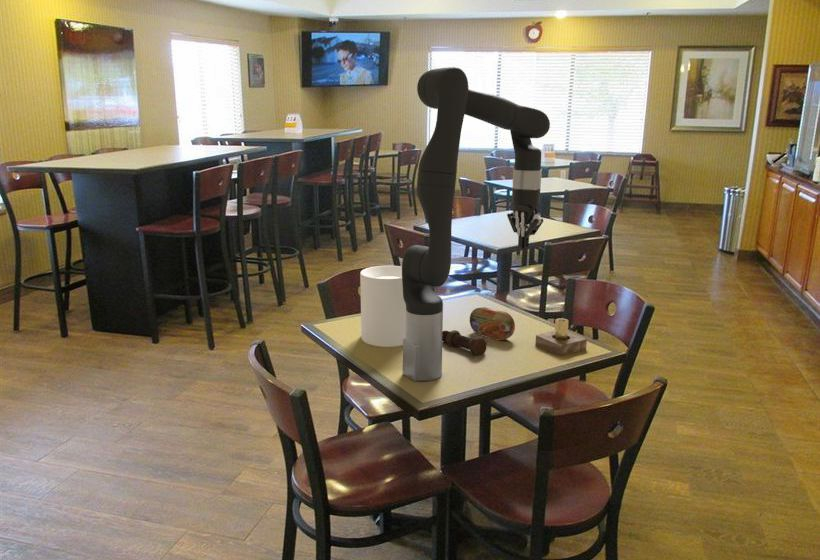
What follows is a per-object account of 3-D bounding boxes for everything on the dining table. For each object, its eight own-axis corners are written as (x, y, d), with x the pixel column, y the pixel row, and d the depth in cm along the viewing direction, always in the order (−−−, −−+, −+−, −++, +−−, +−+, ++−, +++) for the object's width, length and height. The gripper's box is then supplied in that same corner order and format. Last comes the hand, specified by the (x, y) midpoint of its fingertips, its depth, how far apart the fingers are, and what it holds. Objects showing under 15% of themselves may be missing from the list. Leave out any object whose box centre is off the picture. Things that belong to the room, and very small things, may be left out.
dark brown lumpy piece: (444, 346, 193) (482, 359, 182) (433, 342, 190) (471, 354, 179) (451, 328, 194) (489, 340, 183) (440, 323, 190) (478, 334, 179)
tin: (468, 332, 200) (469, 305, 198) (474, 329, 203) (475, 303, 200) (509, 343, 190) (510, 315, 188) (515, 341, 193) (517, 313, 191)
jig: (560, 355, 181) (560, 345, 180) (535, 344, 189) (535, 335, 188) (586, 349, 186) (586, 339, 185) (561, 338, 194) (561, 329, 193)
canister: (369, 349, 185) (368, 281, 180) (355, 331, 200) (354, 267, 195) (422, 343, 190) (423, 276, 185) (405, 326, 205) (405, 264, 200)
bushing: (560, 350, 185) (561, 322, 183) (551, 346, 188) (552, 319, 186) (569, 347, 187) (571, 320, 185) (560, 344, 190) (562, 317, 188)
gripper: (500, 185, 182) (497, 246, 186) (532, 189, 171) (528, 255, 175) (521, 183, 186) (518, 244, 190) (553, 188, 175) (549, 252, 179)
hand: (523, 249), depth 183 cm, fingers closed
